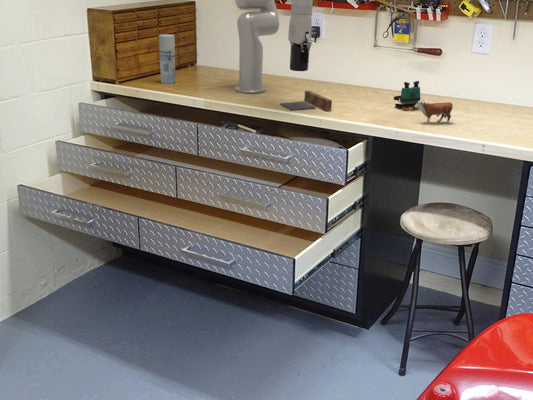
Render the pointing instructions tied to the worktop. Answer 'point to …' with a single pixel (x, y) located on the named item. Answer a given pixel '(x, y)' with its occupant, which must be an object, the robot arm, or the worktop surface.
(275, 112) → the worktop surface
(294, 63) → the supplement bottle
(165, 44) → the spray paint can
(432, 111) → the bull figurine
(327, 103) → the walnut rail
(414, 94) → the binoculars
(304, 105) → the pad
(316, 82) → the worktop surface
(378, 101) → the worktop surface
